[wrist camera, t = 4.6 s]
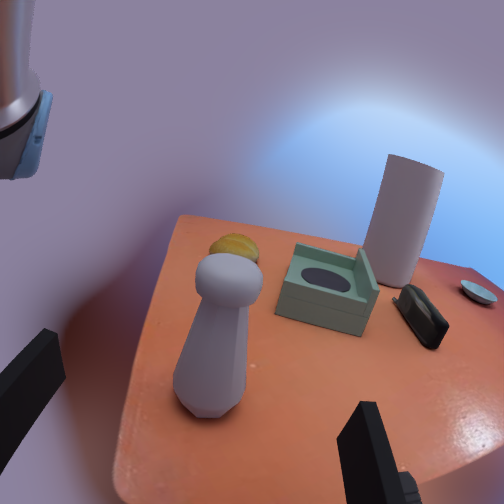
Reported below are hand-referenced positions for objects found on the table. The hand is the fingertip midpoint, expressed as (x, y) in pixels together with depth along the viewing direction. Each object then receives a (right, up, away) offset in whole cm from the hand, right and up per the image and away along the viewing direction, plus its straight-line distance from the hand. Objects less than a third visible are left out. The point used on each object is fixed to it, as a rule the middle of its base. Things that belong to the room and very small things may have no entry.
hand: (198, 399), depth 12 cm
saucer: (+59, -6, +52) cm, 78 cm away
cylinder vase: (+30, +1, +52) cm, 60 cm away
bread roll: (-1, +5, +44) cm, 45 cm away
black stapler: (+28, -6, +33) cm, 44 cm away
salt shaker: (-2, -7, +12) cm, 14 cm away
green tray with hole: (+13, -1, +36) cm, 38 cm away
